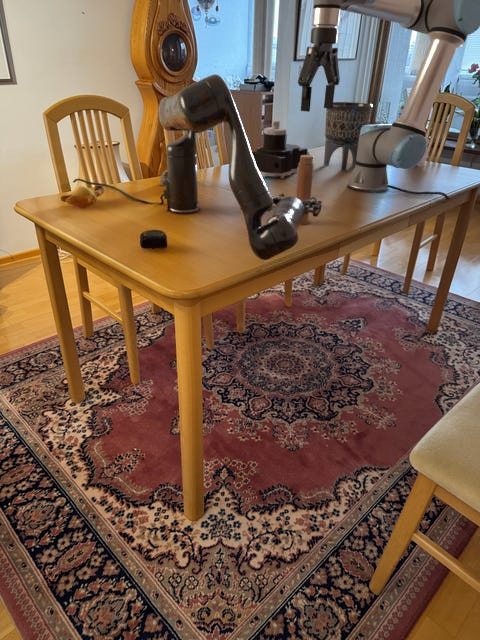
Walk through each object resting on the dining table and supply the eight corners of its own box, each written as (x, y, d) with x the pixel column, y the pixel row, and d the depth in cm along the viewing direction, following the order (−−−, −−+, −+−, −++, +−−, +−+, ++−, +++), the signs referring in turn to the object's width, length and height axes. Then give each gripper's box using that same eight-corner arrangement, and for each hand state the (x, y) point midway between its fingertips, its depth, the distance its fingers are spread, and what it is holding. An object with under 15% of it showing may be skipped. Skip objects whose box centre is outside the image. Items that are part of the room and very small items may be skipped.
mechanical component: (240, 120, 182) (283, 115, 202) (239, 174, 192) (280, 164, 212) (283, 126, 170) (325, 120, 190) (280, 183, 180) (320, 171, 200)
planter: (313, 167, 208) (319, 103, 195) (331, 160, 222) (338, 101, 209) (353, 173, 199) (362, 107, 185) (369, 166, 213) (379, 104, 199)
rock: (185, 178, 183) (185, 162, 179) (198, 183, 177) (198, 166, 174) (157, 184, 175) (156, 166, 172) (169, 189, 170) (168, 171, 166)
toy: (54, 197, 144) (75, 185, 156) (65, 216, 146) (84, 202, 159) (84, 187, 140) (103, 175, 153) (94, 206, 143) (111, 193, 156)
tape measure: (140, 252, 115) (139, 238, 113) (141, 242, 120) (140, 229, 119) (167, 251, 116) (166, 237, 114) (167, 241, 121) (166, 228, 120)
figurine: (429, 163, 220) (435, 136, 214) (420, 169, 209) (426, 139, 203) (412, 161, 224) (417, 134, 218) (403, 166, 213) (408, 138, 207)
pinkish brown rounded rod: (296, 224, 137) (302, 157, 127) (291, 220, 140) (296, 154, 131) (310, 224, 138) (316, 157, 128) (305, 219, 141) (311, 154, 131)
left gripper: (317, 204, 109) (325, 187, 122) (260, 198, 112) (273, 182, 125) (314, 233, 113) (322, 214, 126) (258, 227, 116) (272, 209, 129)
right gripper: (334, 30, 139) (326, 106, 149) (289, 25, 122) (283, 111, 132) (357, 29, 135) (347, 108, 145) (313, 24, 118) (305, 113, 128)
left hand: (297, 198), depth 126 cm, fingers open, 8 cm apart
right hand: (316, 109), depth 139 cm, fingers open, 13 cm apart
